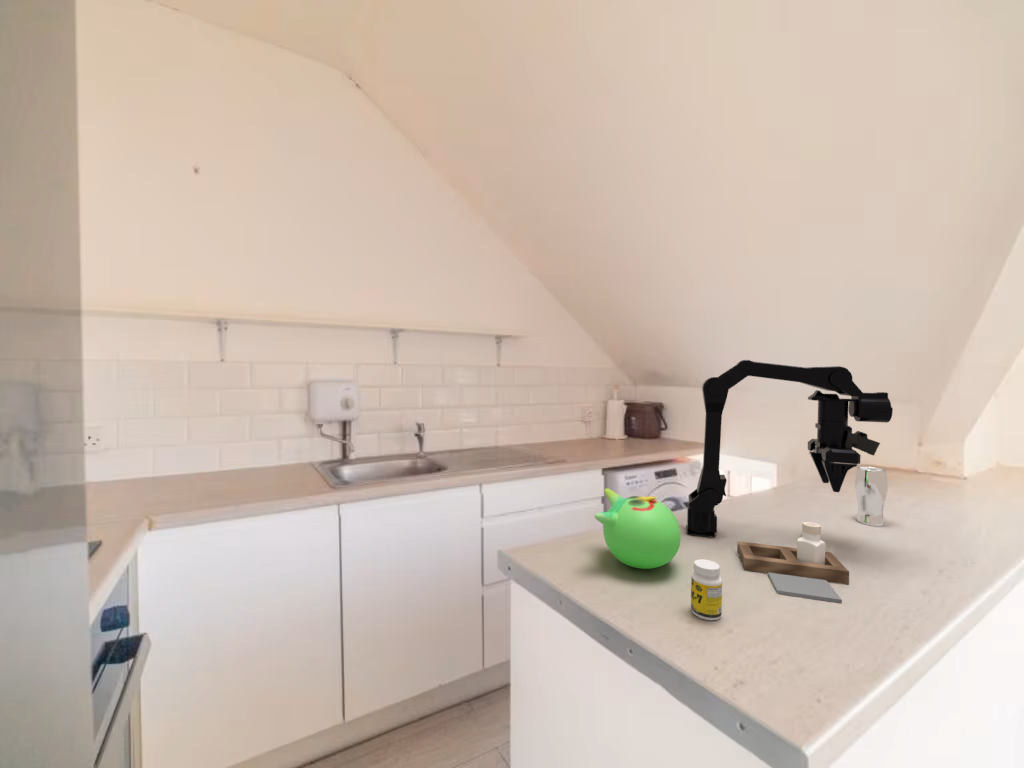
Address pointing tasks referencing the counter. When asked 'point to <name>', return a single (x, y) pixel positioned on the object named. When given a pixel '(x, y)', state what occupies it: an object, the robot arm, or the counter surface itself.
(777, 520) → the counter surface
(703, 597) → the supplement bottle
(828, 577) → the wooden compartment tray
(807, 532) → the pepper shaker
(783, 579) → the rubber pad
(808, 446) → the robot arm
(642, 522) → the toy bird
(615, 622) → the counter surface
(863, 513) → the beer glass
